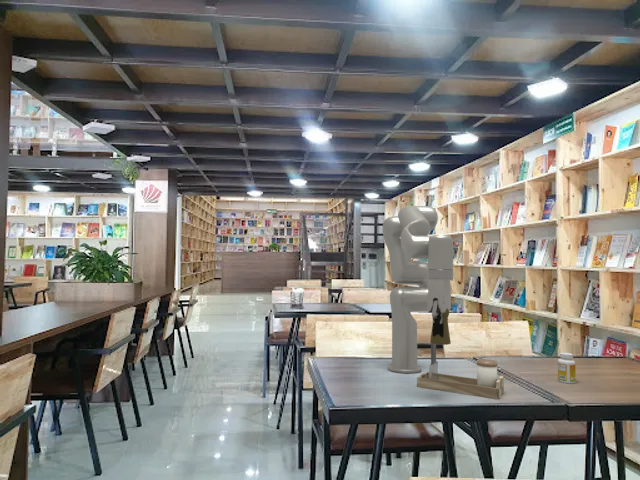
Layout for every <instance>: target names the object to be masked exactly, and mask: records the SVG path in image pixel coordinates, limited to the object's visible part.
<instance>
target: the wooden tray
mask: <svg viewBox="0 0 640 480" xmlns="http://www.w3.org/2000/svg"><path fill="white" fill-rule="evenodd" d="M504 383H505V381H504V375H500V376H499V377H498V378H497V381H496V388H491V387H484V386H477V378H476V377H475V378H473V377H467V376H459V375H453V374H452V375H451V374H443V373H438V380H435V379H429V371H424V372H423V373H421V374H420V375H418V376H417V377H416V387H417V388H422V389H423V388H424V389H430V390H431V389H432V390H437V391H442V392H450V393H457V394H460V395H461V394H464V395H469V396H475V397H483V398H486V399H487V398H488V399H494V400H500V399H501V397H502V396H503V394H504V392H505V391H504V388H505V387H504V386H505V385H504Z"/></svg>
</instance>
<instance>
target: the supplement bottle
mask: <svg viewBox="0 0 640 480" xmlns="http://www.w3.org/2000/svg"><path fill="white" fill-rule="evenodd" d="M573 355H574V354H573V353H570V352H559V357H560V358H559V359H557V379H558V381H559V382H560V383H563V384H576V381H577V380H576V379H577V377H576V376H577V375H576V361H575V360H573V359H574V356H573Z"/></svg>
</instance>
